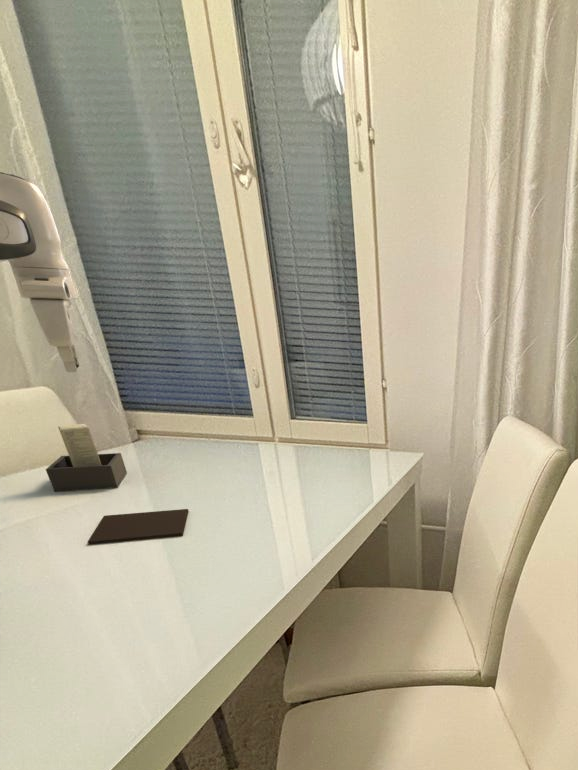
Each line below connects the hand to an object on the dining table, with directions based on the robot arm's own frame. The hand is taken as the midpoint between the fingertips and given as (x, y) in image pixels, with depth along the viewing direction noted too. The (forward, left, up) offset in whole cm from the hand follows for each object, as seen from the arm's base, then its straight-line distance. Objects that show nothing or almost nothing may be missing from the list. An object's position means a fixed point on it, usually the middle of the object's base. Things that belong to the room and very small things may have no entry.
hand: (73, 369), depth 109 cm
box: (-3, +1, -22) cm, 22 cm away
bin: (-3, +1, -22) cm, 23 cm away
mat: (+11, -34, -22) cm, 42 cm away
